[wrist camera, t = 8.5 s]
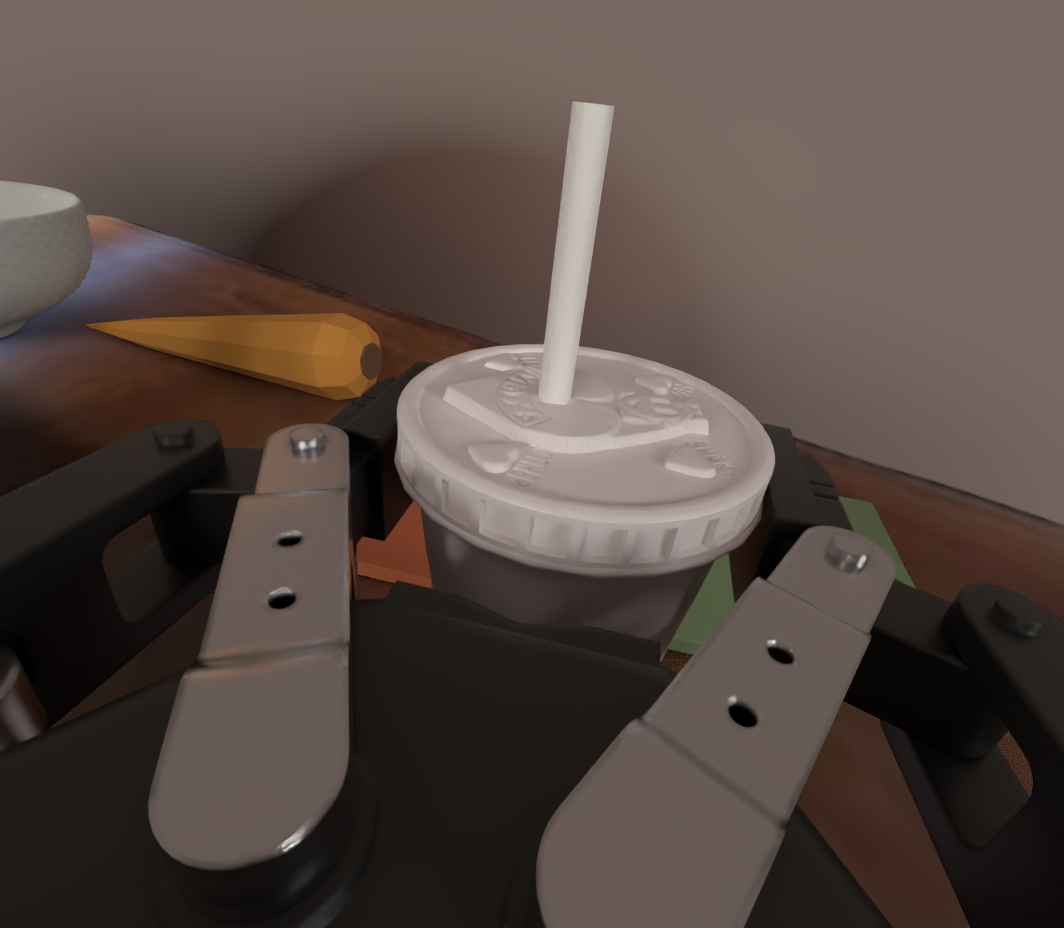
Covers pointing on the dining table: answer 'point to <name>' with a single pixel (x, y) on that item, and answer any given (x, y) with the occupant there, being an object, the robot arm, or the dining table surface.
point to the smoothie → (578, 458)
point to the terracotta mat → (397, 552)
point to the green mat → (719, 591)
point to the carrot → (269, 347)
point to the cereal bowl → (39, 250)
